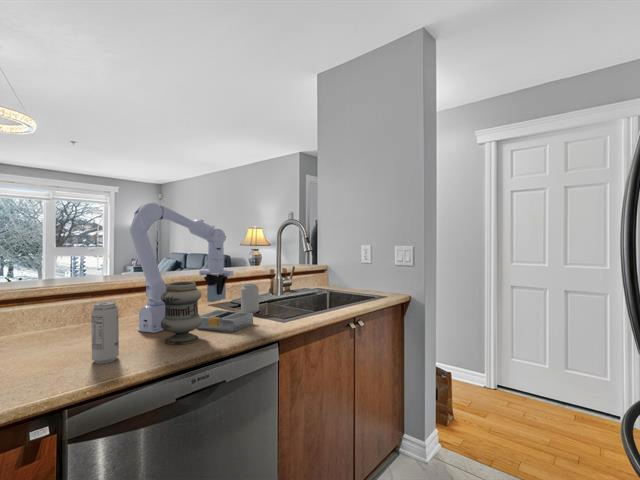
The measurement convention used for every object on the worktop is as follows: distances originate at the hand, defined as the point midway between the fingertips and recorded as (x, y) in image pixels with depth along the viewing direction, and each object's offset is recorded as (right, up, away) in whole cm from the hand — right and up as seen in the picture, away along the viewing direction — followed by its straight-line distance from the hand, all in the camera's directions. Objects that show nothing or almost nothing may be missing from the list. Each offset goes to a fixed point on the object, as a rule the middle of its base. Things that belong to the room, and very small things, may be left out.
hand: (216, 294), depth 135 cm
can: (+11, -10, +13) cm, 19 cm away
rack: (+6, -10, -10) cm, 15 cm away
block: (0, -2, 0) cm, 2 cm away
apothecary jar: (-3, -10, -27) cm, 29 cm away
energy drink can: (-16, -11, -44) cm, 48 cm away
